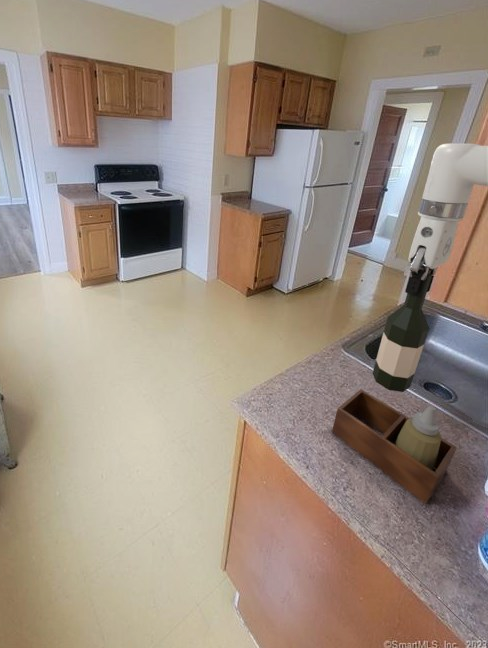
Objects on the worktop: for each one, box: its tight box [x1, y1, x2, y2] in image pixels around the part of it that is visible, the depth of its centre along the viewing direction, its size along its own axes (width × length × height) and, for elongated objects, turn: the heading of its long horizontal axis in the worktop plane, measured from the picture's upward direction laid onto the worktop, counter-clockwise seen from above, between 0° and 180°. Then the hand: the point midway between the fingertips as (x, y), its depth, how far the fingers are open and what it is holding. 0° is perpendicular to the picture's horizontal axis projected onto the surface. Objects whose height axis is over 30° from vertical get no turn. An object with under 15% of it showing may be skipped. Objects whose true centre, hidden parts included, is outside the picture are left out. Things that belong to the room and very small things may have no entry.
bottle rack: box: [331, 388, 458, 504], centre depth 75 cm, size 21×11×8 cm, turn 38°
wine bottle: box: [372, 268, 432, 393], centre depth 74 cm, size 8×8×30 cm
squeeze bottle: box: [394, 405, 442, 472], centre depth 69 cm, size 8×8×18 cm
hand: (417, 291), depth 71 cm, fingers closed on wine bottle, 3 cm apart
